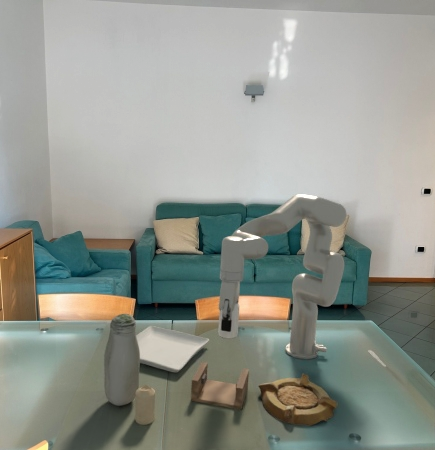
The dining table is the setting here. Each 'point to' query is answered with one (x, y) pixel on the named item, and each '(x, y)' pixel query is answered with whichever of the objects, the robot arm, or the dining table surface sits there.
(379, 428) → the dining table surface
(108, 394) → the gray bottle
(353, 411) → the dining table surface
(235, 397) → the holder
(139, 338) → the square plate
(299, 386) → the ashtray
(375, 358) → the butter knife
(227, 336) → the can
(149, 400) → the candle
